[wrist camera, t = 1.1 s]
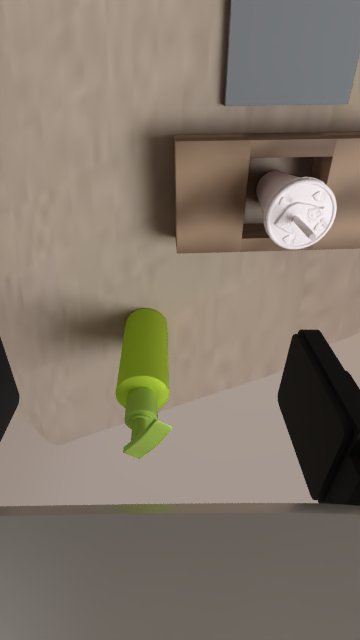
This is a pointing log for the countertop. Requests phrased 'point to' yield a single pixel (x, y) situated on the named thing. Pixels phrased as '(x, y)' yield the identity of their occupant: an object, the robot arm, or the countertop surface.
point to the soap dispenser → (144, 379)
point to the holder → (231, 184)
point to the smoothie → (295, 209)
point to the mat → (291, 52)
